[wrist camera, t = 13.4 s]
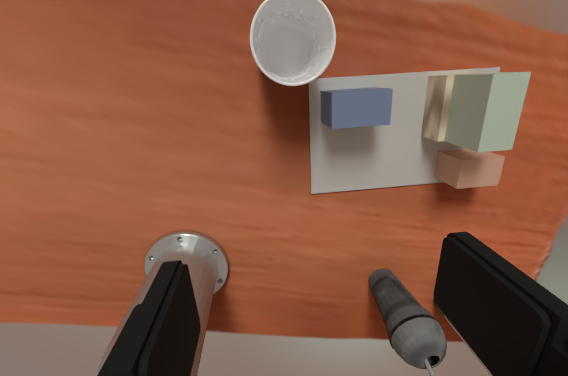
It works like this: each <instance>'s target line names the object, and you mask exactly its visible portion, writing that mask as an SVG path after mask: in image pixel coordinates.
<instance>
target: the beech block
mask: <svg viewBox="0 0 568 376" xmlns="http://www.w3.org/2000/svg"><path fill="white" fill-rule="evenodd" d="M489 73H495V72H489ZM463 74H477V73H463ZM454 75H461V74H447V75H432V76H428V82H427V90H426V98H425V106H424V115H423V123H422V131H421V136H423V137H426V138H429V139H431V140H434V141H437V142H440V141H444V138H445V132H446V126H447V119H448V113H449V106H450V100H451V94H452V87H453V81H454Z"/></svg>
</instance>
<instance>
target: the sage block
mask: <svg viewBox="0 0 568 376" xmlns="http://www.w3.org/2000/svg"><path fill="white" fill-rule="evenodd" d="M530 75H531V72H505V73H477V74H461V75H454V81H453V87H452V94H451V100H450V106H449V113H448V119H447V126H446V132H445V138H444V141H445V142H448V143H451V144H454V145H457V146H460V147H463V148H466V149H469V150H472V151H475V152H488V151H501V150H512V147H513V143H514V139H515V135H516V131H517V127H518V123H519V119H520V115H521V111H522V107H523V103H524V99H525V95H526V91H527V87H528V83H529V79H530Z"/></svg>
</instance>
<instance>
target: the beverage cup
mask: <svg viewBox="0 0 568 376" xmlns="http://www.w3.org/2000/svg"><path fill="white" fill-rule="evenodd" d="M369 285H370V287H371V291H372V294H373V296H374V298H375V301H376V303H377V306H378V308H379V311H380V313H381V315H382V318H383V320H384V323H385V325H386V329H387V333H388V336H389V339H390V340H389V341H390V344H391V346H392V348H393V349H394V350H395V351H396V353H397V354H398V355H399V356H400V357H401V358H402V359H403V360H404V361H405V362H406V363H408V364H410V365H412V366H414V367H416V368H420V369H427V370H428V372H429V374H430V376H435V375H434V373H433V371H432V368H433V367H436V366H437V365H439V364H440V363H441V362H442V360H443V359H444V357H445V355H446V349H447V342H446V338H445V334H444V332H443V329H442V328H441V326H440V323H439V321H438V320H437V319H436V318H435V317H433V316H432V315H431V314H430V313H429V312H428V311H427V310H426V309H424V308H423V307H422V306H421V305H420V304H419V303H418V301H417V300H416V299H415V298H414V297H413V296H412V294H411V293H410V292H409V291H408V290H407V289H406V288H405V286H404V285H403V284H402V283H401V282H400V281H399V280H398V278H397V277H396V276H395V275H394V274H393V273H392V272H391V271H390V270H388V269H379V270H376V271H375V272H373V273H372V274H371V275H370V277H369Z"/></svg>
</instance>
